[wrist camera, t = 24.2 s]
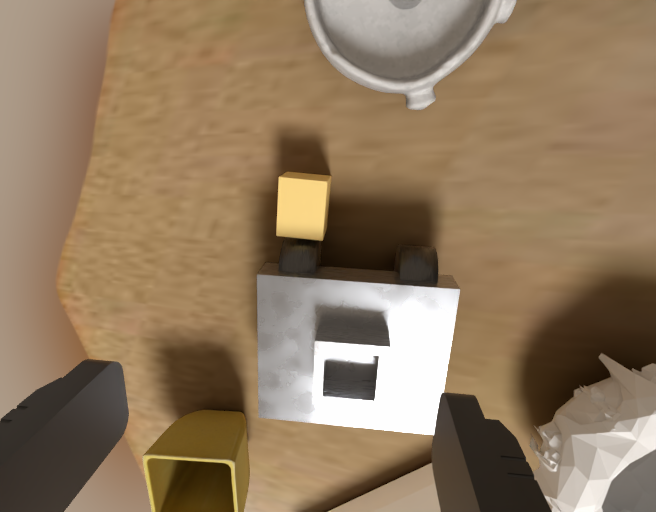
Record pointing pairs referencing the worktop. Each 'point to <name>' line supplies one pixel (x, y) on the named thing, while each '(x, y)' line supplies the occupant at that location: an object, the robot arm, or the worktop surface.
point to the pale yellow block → (303, 205)
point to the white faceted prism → (399, 495)
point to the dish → (402, 40)
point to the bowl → (602, 446)
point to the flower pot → (200, 464)
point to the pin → (405, 4)
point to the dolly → (354, 339)
